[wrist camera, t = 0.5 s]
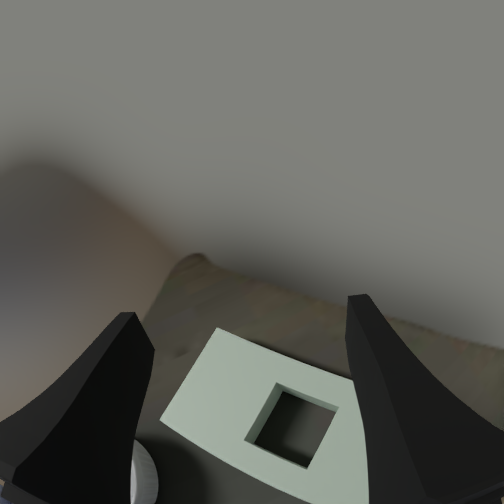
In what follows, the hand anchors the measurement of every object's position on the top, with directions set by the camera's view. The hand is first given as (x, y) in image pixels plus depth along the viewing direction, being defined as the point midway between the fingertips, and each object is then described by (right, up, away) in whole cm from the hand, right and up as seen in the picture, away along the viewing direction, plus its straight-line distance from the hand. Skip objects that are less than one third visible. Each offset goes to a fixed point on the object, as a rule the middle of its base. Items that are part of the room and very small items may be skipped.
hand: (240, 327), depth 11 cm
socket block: (+4, -12, +13) cm, 18 cm away
